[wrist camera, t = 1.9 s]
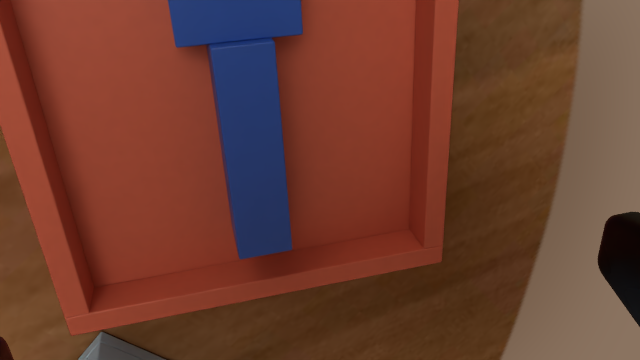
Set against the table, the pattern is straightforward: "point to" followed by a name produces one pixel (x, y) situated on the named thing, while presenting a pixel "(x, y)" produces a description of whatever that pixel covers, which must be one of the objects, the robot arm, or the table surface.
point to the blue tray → (115, 350)
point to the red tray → (206, 157)
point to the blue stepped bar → (246, 108)
